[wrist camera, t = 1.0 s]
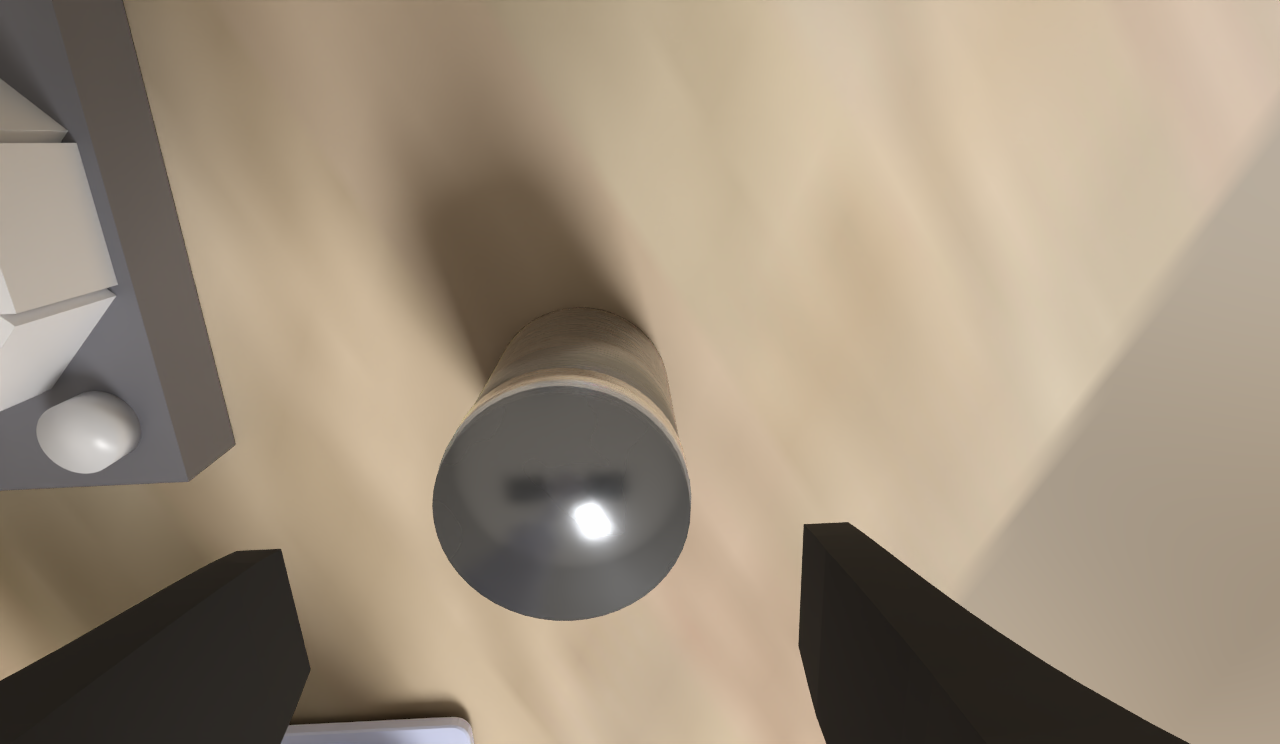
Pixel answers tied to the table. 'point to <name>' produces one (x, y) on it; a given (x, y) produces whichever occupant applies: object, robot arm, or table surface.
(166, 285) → the camera body
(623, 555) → the lens
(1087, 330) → the table surface
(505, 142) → the table surface
